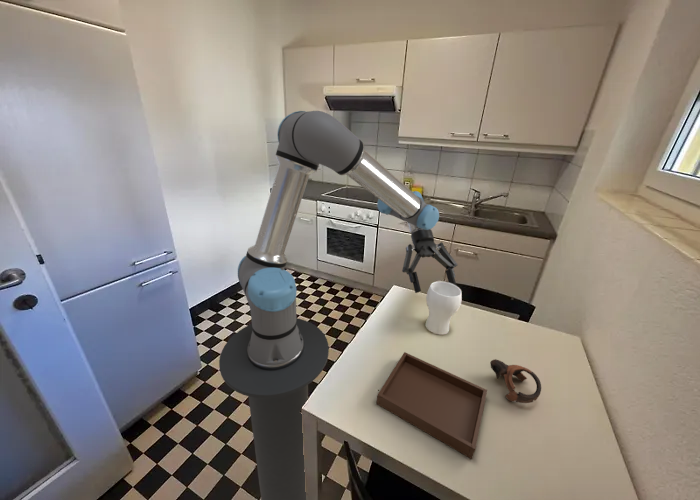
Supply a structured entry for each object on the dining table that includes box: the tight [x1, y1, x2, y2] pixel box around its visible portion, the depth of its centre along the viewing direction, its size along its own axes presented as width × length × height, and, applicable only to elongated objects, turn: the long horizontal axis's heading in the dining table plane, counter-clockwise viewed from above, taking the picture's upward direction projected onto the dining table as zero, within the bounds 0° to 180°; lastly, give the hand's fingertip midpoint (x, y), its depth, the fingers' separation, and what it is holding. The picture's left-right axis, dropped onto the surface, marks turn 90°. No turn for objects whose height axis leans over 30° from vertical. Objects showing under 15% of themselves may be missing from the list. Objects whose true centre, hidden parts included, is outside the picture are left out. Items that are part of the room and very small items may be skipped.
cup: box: [424, 280, 463, 335], centre depth 91 cm, size 11×11×15 cm
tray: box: [375, 351, 488, 460], centre depth 67 cm, size 22×17×3 cm
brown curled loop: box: [490, 358, 542, 404], centre depth 71 cm, size 12×10×8 cm
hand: (436, 289), depth 93 cm, fingers open, 13 cm apart
